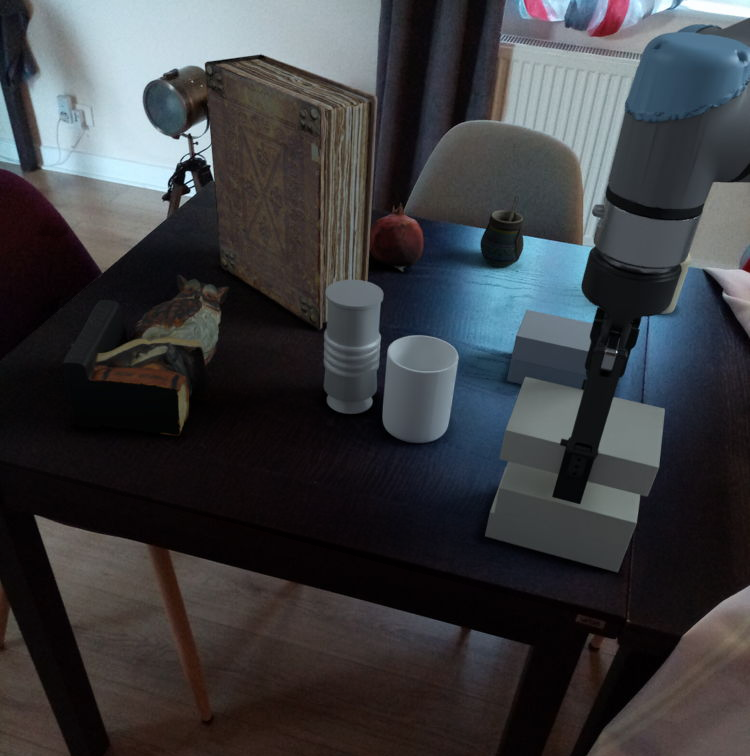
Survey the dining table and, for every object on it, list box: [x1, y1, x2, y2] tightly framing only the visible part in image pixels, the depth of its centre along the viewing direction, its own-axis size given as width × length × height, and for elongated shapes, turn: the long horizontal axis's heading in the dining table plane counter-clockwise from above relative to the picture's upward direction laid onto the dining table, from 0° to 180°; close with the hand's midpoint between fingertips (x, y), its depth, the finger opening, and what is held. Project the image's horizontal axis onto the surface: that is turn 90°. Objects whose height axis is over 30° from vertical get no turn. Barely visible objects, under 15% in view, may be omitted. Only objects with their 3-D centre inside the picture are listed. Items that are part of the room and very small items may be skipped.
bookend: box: [61, 274, 230, 437], centre depth 98 cm, size 15×11×25 cm
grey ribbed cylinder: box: [323, 280, 384, 415], centre depth 96 cm, size 7×7×15 cm
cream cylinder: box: [660, 253, 693, 315], centre depth 122 cm, size 6×6×10 cm
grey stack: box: [506, 309, 593, 389], centre depth 105 cm, size 14×8×7 cm, turn 71°
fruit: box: [369, 202, 424, 273], centre depth 128 cm, size 9×10×10 cm
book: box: [204, 53, 378, 331], centre depth 112 cm, size 25×9×30 cm, turn 42°
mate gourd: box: [479, 196, 525, 268], centre depth 131 cm, size 7×8×10 cm
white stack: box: [484, 461, 641, 573], centre depth 82 cm, size 14×8×7 cm, turn 71°
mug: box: [381, 334, 460, 444], centre depth 95 cm, size 12×8×10 cm
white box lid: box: [499, 377, 666, 497], centre depth 76 cm, size 14×10×4 cm
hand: (574, 465), depth 79 cm, fingers closed on white box lid, 10 cm apart
